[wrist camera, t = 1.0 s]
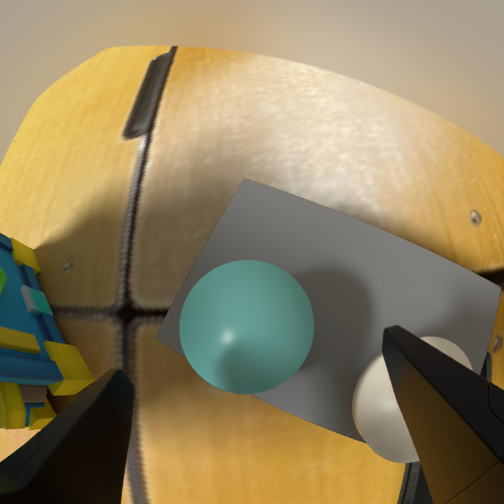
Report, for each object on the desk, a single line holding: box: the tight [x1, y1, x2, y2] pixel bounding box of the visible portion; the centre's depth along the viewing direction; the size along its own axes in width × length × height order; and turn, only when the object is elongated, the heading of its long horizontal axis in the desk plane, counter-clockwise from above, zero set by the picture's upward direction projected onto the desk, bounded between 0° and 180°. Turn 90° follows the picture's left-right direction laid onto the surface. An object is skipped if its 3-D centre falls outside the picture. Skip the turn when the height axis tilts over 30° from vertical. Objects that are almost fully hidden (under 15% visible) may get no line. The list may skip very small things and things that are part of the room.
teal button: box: [179, 260, 314, 394], centre depth 13 cm, size 5×5×5 cm
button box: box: [155, 178, 501, 443], centre depth 17 cm, size 11×18×8 cm, turn 62°
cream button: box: [352, 337, 473, 463], centre depth 11 cm, size 5×5×5 cm
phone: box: [397, 351, 491, 504], centre depth 15 cm, size 8×1×15 cm
